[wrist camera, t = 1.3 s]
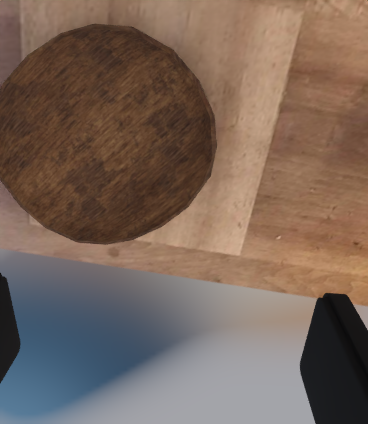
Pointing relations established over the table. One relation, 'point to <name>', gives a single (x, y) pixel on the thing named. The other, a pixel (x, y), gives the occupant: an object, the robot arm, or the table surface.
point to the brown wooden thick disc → (104, 134)
